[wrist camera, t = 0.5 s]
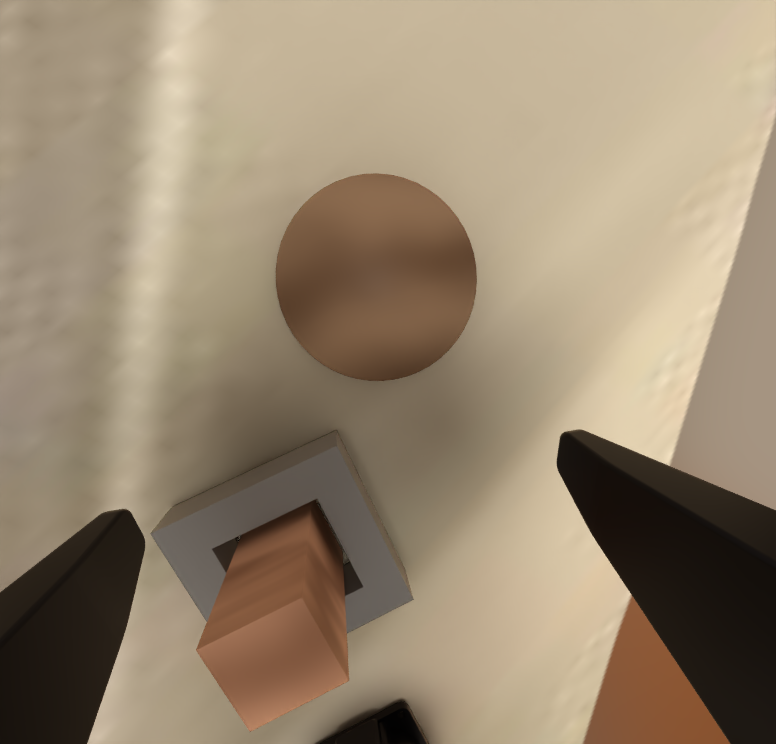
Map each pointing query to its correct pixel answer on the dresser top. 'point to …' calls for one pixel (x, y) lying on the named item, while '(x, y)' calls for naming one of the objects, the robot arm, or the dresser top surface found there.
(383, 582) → the collar
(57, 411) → the dresser top surface
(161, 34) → the dresser top surface
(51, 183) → the dresser top surface
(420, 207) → the pad
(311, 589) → the block
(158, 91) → the dresser top surface
